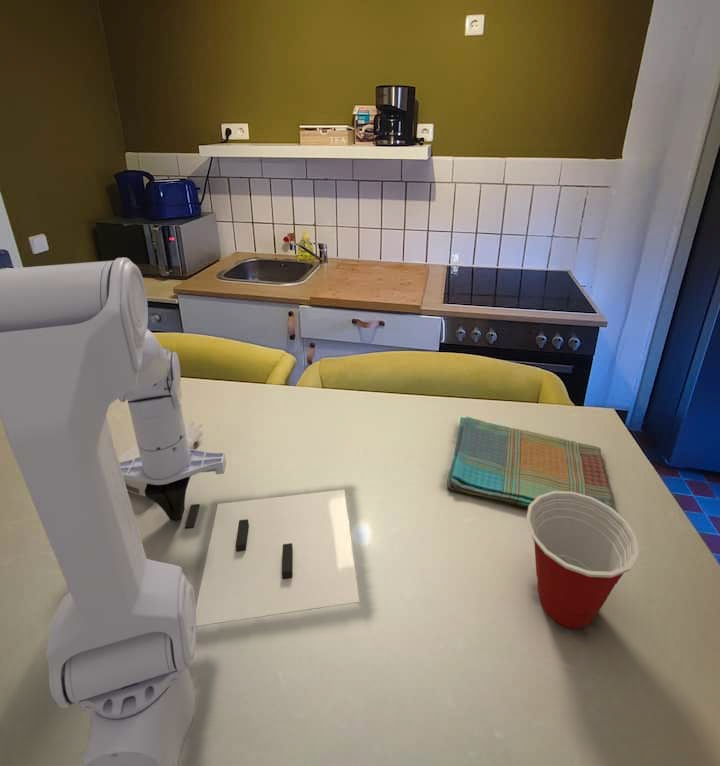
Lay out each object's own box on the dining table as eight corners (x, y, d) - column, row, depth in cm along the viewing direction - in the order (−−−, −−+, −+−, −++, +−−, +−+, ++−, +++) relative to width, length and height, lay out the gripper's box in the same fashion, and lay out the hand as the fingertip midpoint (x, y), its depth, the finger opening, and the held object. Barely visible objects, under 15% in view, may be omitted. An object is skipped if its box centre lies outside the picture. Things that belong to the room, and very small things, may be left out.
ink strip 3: (292, 578, 52) (291, 571, 51) (282, 579, 52) (281, 572, 51) (292, 549, 55) (292, 542, 55) (283, 550, 55) (282, 544, 55)
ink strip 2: (245, 550, 55) (245, 544, 55) (236, 552, 55) (235, 545, 55) (249, 525, 59) (248, 519, 58) (240, 526, 59) (239, 520, 58)
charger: (220, 440, 77) (157, 505, 63) (178, 429, 79) (110, 489, 66) (217, 418, 75) (152, 480, 62) (174, 407, 78) (103, 464, 65)
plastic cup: (531, 542, 57) (544, 472, 53) (624, 594, 51) (646, 519, 47) (499, 608, 49) (512, 532, 45) (603, 680, 43) (629, 598, 39)
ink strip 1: (185, 533, 59) (194, 532, 59) (184, 527, 58) (193, 526, 59) (192, 510, 62) (200, 509, 63) (191, 504, 62) (199, 503, 62)
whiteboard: (366, 613, 49) (366, 607, 49) (184, 640, 46) (183, 634, 46) (348, 490, 66) (348, 485, 65) (214, 505, 63) (213, 500, 63)
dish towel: (459, 423, 81) (460, 411, 80) (597, 451, 73) (600, 439, 73) (445, 491, 65) (446, 478, 65) (618, 535, 58) (622, 521, 57)
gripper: (224, 411, 60) (234, 487, 64) (114, 421, 58) (133, 497, 63) (215, 446, 53) (227, 527, 58) (90, 458, 51) (114, 540, 56)
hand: (177, 515), depth 60 cm, fingers closed
